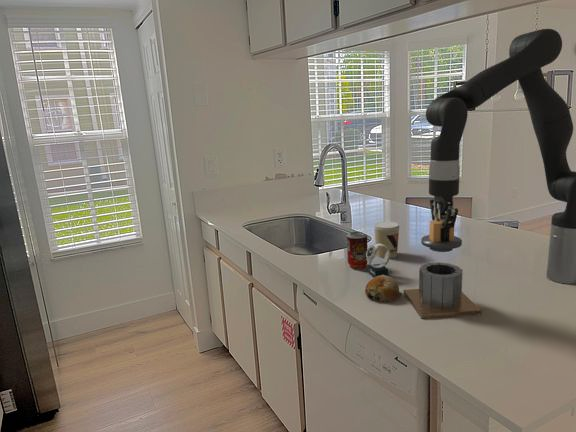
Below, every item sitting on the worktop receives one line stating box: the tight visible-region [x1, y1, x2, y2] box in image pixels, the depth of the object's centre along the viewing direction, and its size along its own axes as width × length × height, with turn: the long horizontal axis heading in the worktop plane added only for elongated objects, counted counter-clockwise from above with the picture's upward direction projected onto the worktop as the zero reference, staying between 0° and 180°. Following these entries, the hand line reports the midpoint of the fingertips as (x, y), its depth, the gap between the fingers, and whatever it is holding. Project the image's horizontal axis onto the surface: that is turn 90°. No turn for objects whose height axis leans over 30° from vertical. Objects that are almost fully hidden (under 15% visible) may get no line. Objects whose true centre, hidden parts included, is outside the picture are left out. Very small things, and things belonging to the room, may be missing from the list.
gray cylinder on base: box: [402, 262, 482, 320], centre depth 119 cm, size 16×16×10 cm
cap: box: [420, 220, 463, 253], centre depth 115 cm, size 10×10×8 cm
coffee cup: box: [373, 221, 400, 259], centre depth 161 cm, size 9×9×12 cm
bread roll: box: [364, 275, 400, 303], centre depth 127 cm, size 10×10×8 cm
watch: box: [366, 243, 391, 279], centre depth 141 cm, size 6×8×11 cm
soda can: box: [346, 231, 368, 270], centre depth 151 cm, size 7×7×12 cm
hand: (442, 239), depth 116 cm, fingers closed on cap, 3 cm apart
